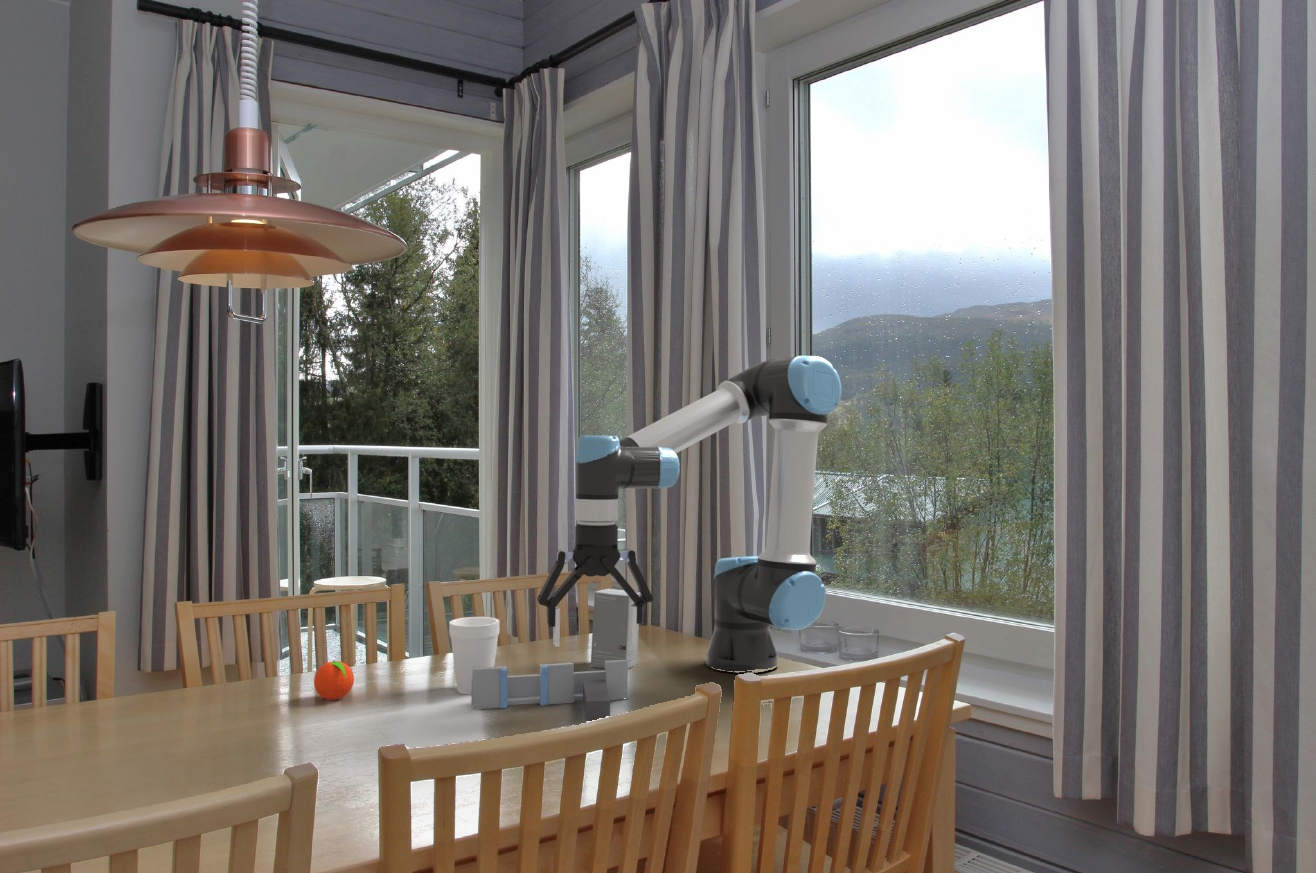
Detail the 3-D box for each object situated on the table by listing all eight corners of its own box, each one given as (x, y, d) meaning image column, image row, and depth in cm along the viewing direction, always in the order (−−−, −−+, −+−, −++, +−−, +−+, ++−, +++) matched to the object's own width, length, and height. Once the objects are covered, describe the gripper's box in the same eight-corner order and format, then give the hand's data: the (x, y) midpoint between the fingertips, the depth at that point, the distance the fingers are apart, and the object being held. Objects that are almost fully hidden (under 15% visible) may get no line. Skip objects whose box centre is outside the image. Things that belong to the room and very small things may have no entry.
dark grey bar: (604, 701, 172) (604, 679, 172) (610, 724, 159) (610, 700, 159) (582, 702, 172) (583, 680, 172) (586, 724, 158) (586, 701, 158)
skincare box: (590, 667, 196) (590, 592, 196) (604, 660, 203) (605, 587, 203) (627, 671, 193) (627, 594, 193) (640, 663, 200) (641, 589, 200)
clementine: (364, 700, 171) (364, 661, 171) (328, 708, 166) (328, 668, 166) (342, 691, 177) (342, 654, 177) (306, 699, 172) (307, 660, 172)
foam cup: (487, 697, 173) (488, 627, 173) (440, 694, 175) (441, 625, 175) (506, 684, 183) (506, 617, 183) (461, 681, 184) (461, 615, 184)
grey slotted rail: (622, 693, 177) (622, 655, 177) (628, 700, 172) (629, 662, 172) (471, 702, 170) (471, 664, 170) (473, 711, 165) (473, 671, 165)
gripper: (659, 520, 172) (658, 636, 172) (523, 521, 166) (521, 641, 166) (670, 524, 165) (668, 645, 165) (527, 525, 158) (525, 651, 158)
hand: (594, 643), depth 165 cm, fingers open, 13 cm apart
